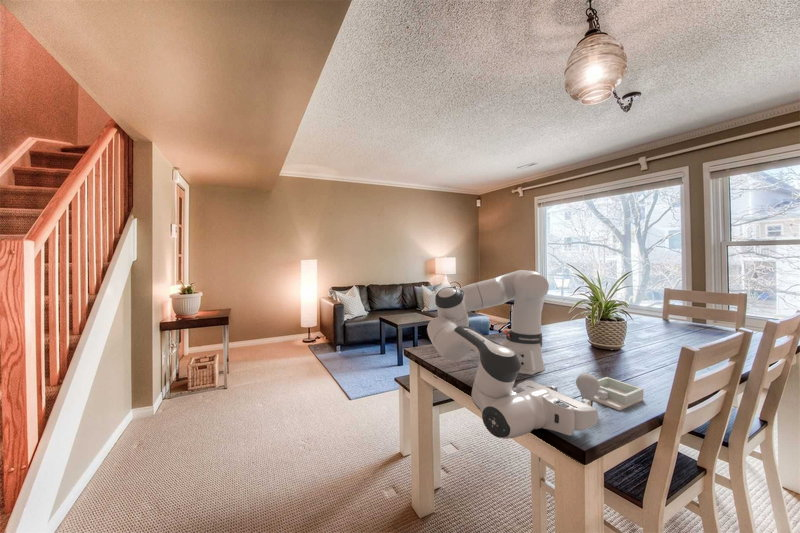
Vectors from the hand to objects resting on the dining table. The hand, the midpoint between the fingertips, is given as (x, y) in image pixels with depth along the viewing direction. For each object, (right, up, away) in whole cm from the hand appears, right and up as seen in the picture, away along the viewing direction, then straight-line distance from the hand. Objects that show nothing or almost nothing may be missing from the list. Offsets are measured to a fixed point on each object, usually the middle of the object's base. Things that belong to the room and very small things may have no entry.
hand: (570, 395), depth 84 cm
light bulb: (+7, -6, +4) cm, 10 cm away
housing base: (+19, -5, +11) cm, 22 cm away
